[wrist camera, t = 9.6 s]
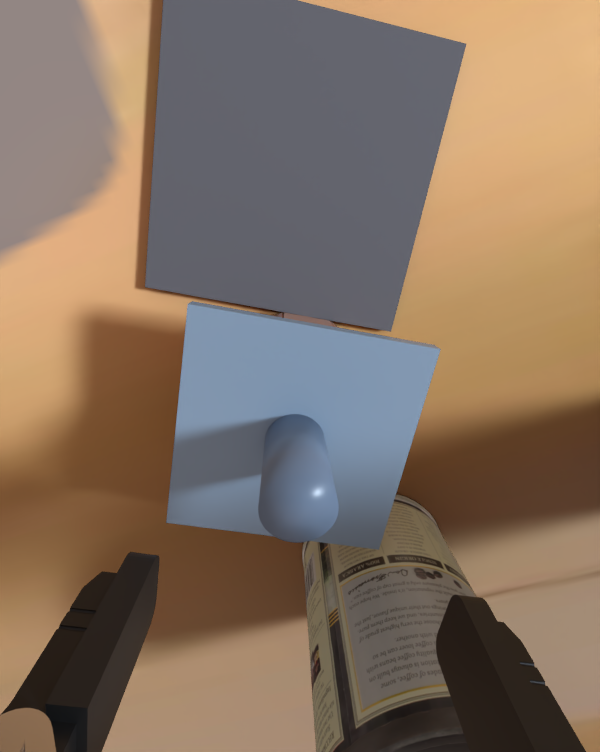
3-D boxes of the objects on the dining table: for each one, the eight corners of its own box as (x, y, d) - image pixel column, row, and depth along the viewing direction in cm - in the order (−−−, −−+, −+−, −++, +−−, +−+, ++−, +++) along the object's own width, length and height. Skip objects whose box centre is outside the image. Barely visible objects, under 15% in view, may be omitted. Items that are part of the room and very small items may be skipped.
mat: (460, 50, 19) (466, 44, 18) (388, 329, 23) (390, 331, 23) (169, -25, 18) (165, -34, 17) (148, 286, 22) (145, 286, 21)
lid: (433, 344, 18) (500, 388, 12) (375, 538, 21) (407, 641, 16) (192, 301, 17) (147, 327, 11) (170, 512, 20) (128, 611, 15)
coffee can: (455, 581, 30) (596, 857, 16) (326, 619, 30) (360, 914, 17) (424, 470, 26) (568, 699, 13) (281, 515, 27) (278, 777, 14)
